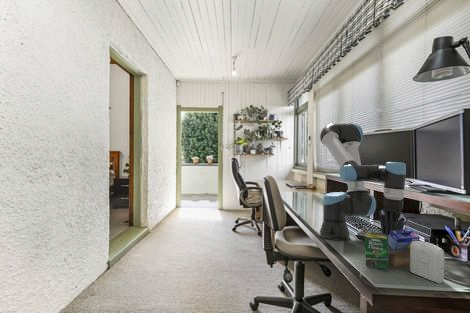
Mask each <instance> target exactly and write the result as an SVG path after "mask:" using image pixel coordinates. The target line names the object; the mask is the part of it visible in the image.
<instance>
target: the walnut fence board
mask: <svg viewBox="0 0 470 313" xmlns="http://www.w3.org/2000/svg"><path fill="white" fill-rule="evenodd" d="M389 268H390V269H392V270H394V271H396V270H400V269H406V268H410V249H405V250H398V251H391V252H389Z"/></svg>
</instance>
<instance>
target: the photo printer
mask: <svg viewBox="0 0 470 313" xmlns="http://www.w3.org/2000/svg"><path fill="white" fill-rule="evenodd" d="M409 272H410V273H413V274H415V275H416V276H420V277H422V278H425V279H427V280H428V281H432V282H435V283H437V284H443V283H444V281H445V251H444V249H443V248H441V247H439V246H438V245H435V244H434V243H430V242H427V241H423V240H419V241H412V243H411V246H410V267H409Z"/></svg>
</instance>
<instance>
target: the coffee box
mask: <svg viewBox="0 0 470 313" xmlns="http://www.w3.org/2000/svg"><path fill="white" fill-rule="evenodd" d="M364 252H365V253H364V257H365V258H364V260H365V266H367V267H371V268H375V269H379V270H383V271H389V268H390V267H389V255H388V235H387V234H383V233H378V232H371V231H365V232H364Z"/></svg>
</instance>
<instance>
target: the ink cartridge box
mask: <svg viewBox="0 0 470 313" xmlns="http://www.w3.org/2000/svg"><path fill="white" fill-rule="evenodd" d="M420 238H421V236H419V235H418V233H416V232H415V231H414V230H413V229H411V228H407V229H406V228H405V229H404V228H403V230H391V231H390V233H389V236H388V255H389V252H391V251H398V250H405V249H410V246H411V243H412V241H420Z"/></svg>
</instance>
